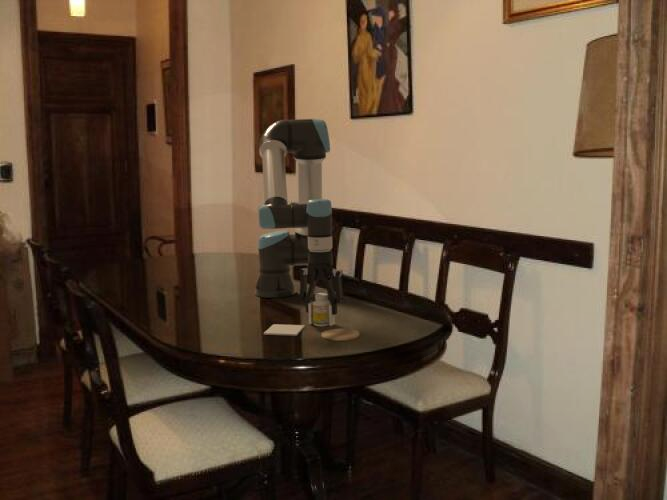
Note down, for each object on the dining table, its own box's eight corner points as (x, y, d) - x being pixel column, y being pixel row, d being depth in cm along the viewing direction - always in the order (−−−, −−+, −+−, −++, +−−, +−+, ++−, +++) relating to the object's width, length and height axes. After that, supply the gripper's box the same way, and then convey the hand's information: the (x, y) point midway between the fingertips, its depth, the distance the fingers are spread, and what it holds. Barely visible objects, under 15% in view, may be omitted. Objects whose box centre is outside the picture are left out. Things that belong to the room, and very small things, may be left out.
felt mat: (263, 334, 205) (263, 332, 204) (273, 325, 214) (273, 324, 214) (296, 335, 202) (296, 334, 202) (304, 326, 212) (304, 325, 212)
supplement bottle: (322, 327, 211) (322, 297, 209) (309, 325, 214) (308, 294, 213) (334, 324, 215) (333, 293, 213) (321, 321, 218) (320, 291, 217)
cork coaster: (315, 339, 199) (315, 337, 199) (329, 329, 209) (329, 327, 209) (351, 342, 195) (351, 340, 195) (364, 332, 205) (364, 330, 205)
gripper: (286, 250, 211) (288, 324, 214) (345, 253, 204) (346, 329, 207) (296, 247, 218) (298, 318, 221) (353, 249, 211) (354, 323, 214)
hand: (321, 323), depth 214 cm, fingers open, 6 cm apart
